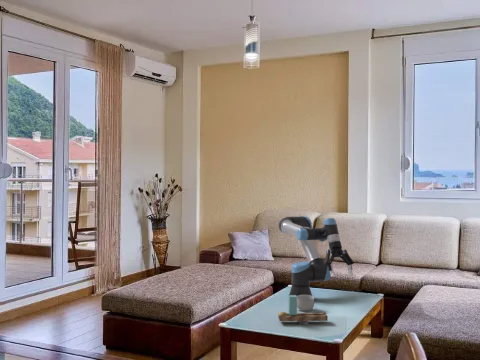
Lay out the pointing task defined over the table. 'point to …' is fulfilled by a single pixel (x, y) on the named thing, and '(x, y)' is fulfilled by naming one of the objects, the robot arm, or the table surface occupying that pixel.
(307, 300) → the teacup
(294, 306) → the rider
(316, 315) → the beam
